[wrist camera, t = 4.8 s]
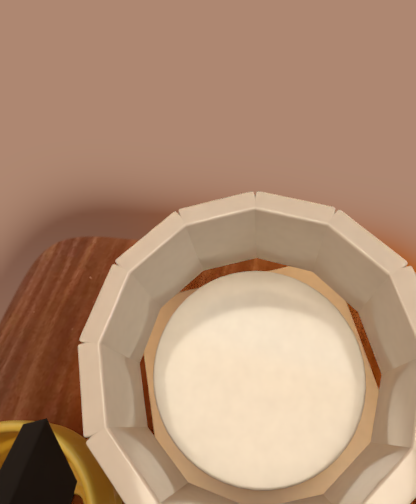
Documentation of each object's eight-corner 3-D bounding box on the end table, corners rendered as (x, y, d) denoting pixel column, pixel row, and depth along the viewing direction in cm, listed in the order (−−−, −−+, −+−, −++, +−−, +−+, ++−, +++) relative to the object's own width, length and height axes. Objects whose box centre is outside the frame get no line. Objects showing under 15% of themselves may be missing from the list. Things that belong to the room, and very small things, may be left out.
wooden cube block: (306, 316, 31) (329, 256, 20) (352, 459, 27) (413, 481, 16) (181, 346, 31) (136, 302, 20) (206, 491, 27) (167, 535, 16)
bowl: (328, 259, 20) (364, 162, 13) (407, 478, 16) (530, 521, 8) (139, 304, 20) (69, 234, 13) (170, 530, 16) (92, 614, 9)
